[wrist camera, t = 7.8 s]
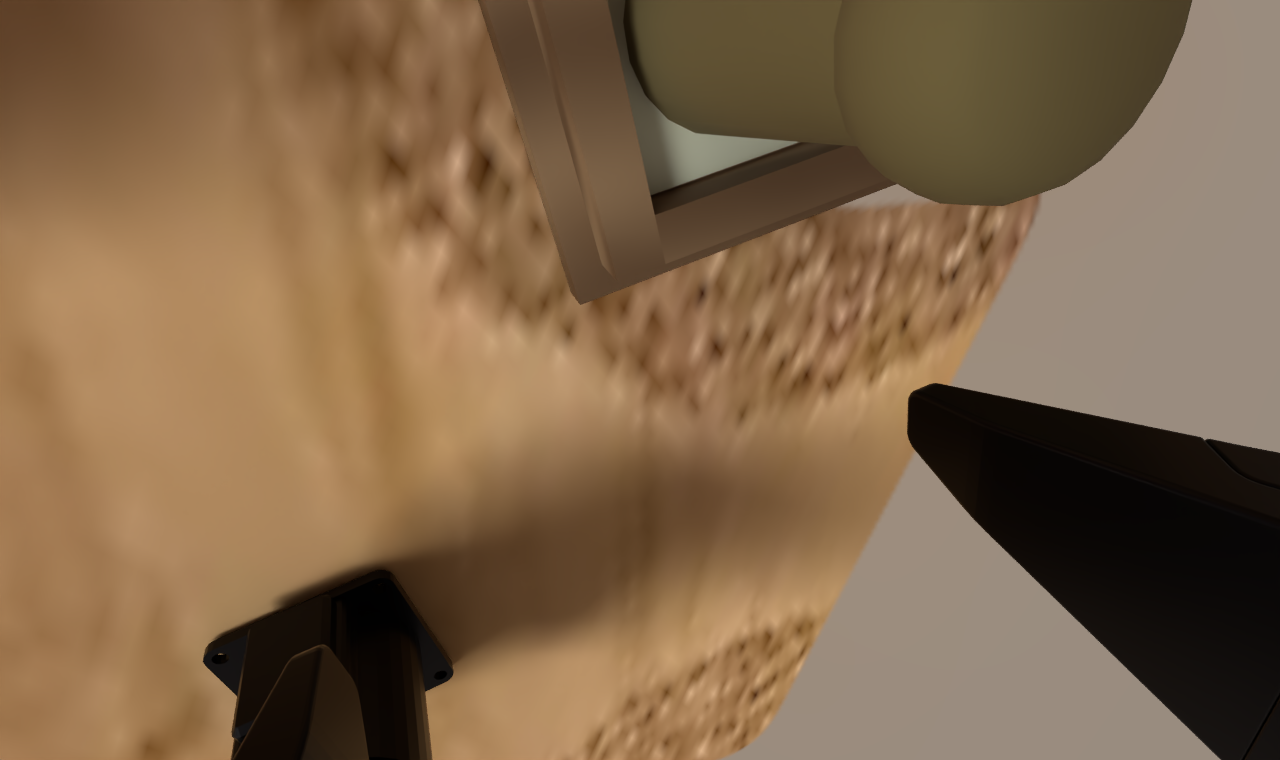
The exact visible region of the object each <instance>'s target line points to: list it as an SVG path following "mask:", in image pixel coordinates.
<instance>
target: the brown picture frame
mask: <svg viewBox="0 0 1280 760" xmlns="http://www.w3.org/2000/svg"><path fill="white" fill-rule="evenodd" d="M478 1H479V4H480V7H481V10H482V13H483V16H484V19H485V23H486V26H487V29H488V32H489V35H490V38H491V41H492V45H493V48H494V51H495V54H496V57H497V60H498V63H499V67H500V70H501V73H502V76H503V79H504V82H505V85H506V89H507V92H508V95H509V98H510V101H511V104H512V107H513V111H514V114H515V117H516V120H517V123H518V126H519V129H520V133H521V136H522V139H523V142H524V145H525V148H526V151H527V155H528V158H529V161H530V164H531V167H532V170H533V174H534V177H535V180H536V183H537V186H538V189H539V192H540V196H541V199H542V202H543V205H544V208H545V211H546V214H547V218H548V221H549V224H550V227H551V230H552V233H553V236H554V240H555V243H556V246H557V249H558V252H559V255H560V258H561V262H562V265H563V268H564V271H565V274H566V277H567V280H568V284H569V287H570V290H571V293H572V294H573V296H574V297H575V299H576V300H577V301H578V303H579V304H580V305H581V304H584V303H587V302H589V301H592V300H594V299H597V298H600V297H602V296H605V295H608V294H610V293H613V292H615V291H618V290H621V289H623V288H626V287H628V286H631V285H634V284H636V283H639V282H642V281H644V280H647V279H649V278H652V277H655V276H657V275H660V274H662V273H665V272H668V271H670V270H673V269H675V268H678V267H681V266H683V265H686V264H689V263H691V262H694V261H696V260H699V259H702V258H704V257H707V256H709V255H712V254H715V253H717V252H720V251H723V250H725V249H728V248H730V247H733V246H736V245H738V244H741V243H743V242H746V241H749V240H751V239H754V238H757V237H759V236H762V235H764V234H767V233H770V232H772V231H775V230H777V229H780V228H783V227H785V226H788V225H790V224H793V223H796V222H798V221H801V220H804V219H806V218H809V217H811V216H814V215H817V214H819V213H822V212H824V211H827V210H830V209H832V208H835V207H838V206H840V205H843V204H845V203H848V202H851V201H853V200H856V199H858V198H861V197H864V196H866V195H869V194H871V193H874V192H877V191H879V190H882V189H884V188H887V187H890V186H892V185H895V184H897V183H895V182H893V181H891V180H890V179H888V178H886V177H885V176H883V175H882V174H881V173H880V172H879V171H878V170H877V169H876V168H875V167H873V166H872V165H871V164H870V163H869V162H868V161H867V159H866V158H865V157H864V155H863V154H862V153H861V151H860V150H859V148H858V147H857V146H845V145H832V144H820V143H807V142H795V141H783V140H770V139H758V138H745V137H733V136H721V135H710V134H698V133H694V132H692V131H690V130H688V129H686V128H684V127H682V126H680V125H678V124H676V123H674V122H672V121H670V120H668V119H667V118H666V117H665V116H664V115H663V114H662V113H661V112H660V111H659V109H658V108H657V107H656V106H655V105H654V104H653V103H652V102H651V101H650V100H649V99H648V98H647V97H646V96H645V94H644V92H643V89H642V87H641V85H640V83H639V81H638V79H637V77H636V75H635V72H634V70H633V68H632V66H631V64H630V62H629V55H628V49H627V43H626V37H625V31H624V24H623V18H624V8H625V0H478Z"/></svg>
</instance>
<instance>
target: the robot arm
mask: <svg viewBox="0 0 1280 760" xmlns="http://www.w3.org/2000/svg"><path fill="white" fill-rule="evenodd" d="M907 434H908V438H909V441H910V443H911V445H912V447H913V448H914V449H915V451H916V452H917V453H918V454H919V455H920V457H921V458H922V459H923V460H924V461H925V463H926V464H927V465H928V466H929V467H930V468H931V470H932V471H933V472H934V473H935V474H936V476H937V477H938V478H939V479H940V480H941V482H942V483H943V484H944V485H945V486H946V487H947V489H948V490H949V491H950V492H951V493H952V495H953V496H954V497H955V498H956V499H957V501H958V502H959V503H960V504H961V505H962V507H963V508H964V509H965V510H966V511H967V512H968V513H969V514H970V516H971V517H972V518H973V519H974V520H975V521H976V522H977V523H978V524H979V525H980V526H981V527H982V528H983V529H984V530H985V531H986V532H987V533H988V534H989V535H990V536H991V537H992V538H993V539H994V540H995V541H996V542H997V543H998V544H999V545H1000V546H1001V547H1002V548H1003V549H1004V550H1005V551H1006V552H1008V553H1009V555H1011V556H1012V557H1013V558H1014V559H1015V560H1016V561H1017V562H1018V563H1019V564H1020V565H1021V566H1022V567H1023V568H1024V569H1025V570H1026V571H1027V572H1028V573H1029V574H1030V575H1031V576H1032V577H1033V578H1034V579H1035V580H1036V581H1037V582H1038V583H1039V584H1040V585H1041V586H1043V588H1045V589H1046V590H1047V591H1048V592H1049V593H1050V594H1051V595H1052V596H1053V597H1054V598H1055V599H1056V600H1057V601H1058V602H1059V603H1060V604H1061V605H1062V606H1063V607H1064V608H1065V609H1066V610H1067V611H1068V612H1069V613H1070V614H1071V615H1072V616H1073V617H1074V618H1075V619H1076V620H1078V622H1080V623H1081V624H1082V625H1083V626H1084V627H1085V628H1086V629H1087V630H1088V631H1089V632H1090V633H1091V634H1092V635H1093V636H1094V637H1095V638H1096V639H1097V640H1098V641H1099V642H1100V643H1101V644H1102V645H1103V646H1104V647H1106V649H1107V650H1108V651H1109V652H1110V653H1111V654H1112V655H1113V656H1115V657H1116V658H1117V659H1118V660H1119V661H1120V662H1121V663H1122V664H1123V665H1124V666H1125V667H1126V668H1127V669H1128V670H1129V671H1130V672H1131V673H1132V674H1133V675H1134V676H1135V677H1136V678H1137V679H1138V680H1139V681H1140V682H1141V683H1142V684H1143V685H1144V686H1145V687H1147V689H1148V690H1150V691H1151V692H1152V693H1153V694H1154V695H1155V696H1156V697H1157V698H1158V699H1159V700H1160V701H1161V702H1162V703H1163V704H1164V705H1165V706H1166V707H1167V708H1168V709H1169V710H1170V711H1171V712H1172V713H1173V714H1174V715H1175V716H1177V718H1178V719H1180V721H1181V722H1182V723H1184V724H1185V725H1186V726H1187V727H1188V728H1189V729H1190V730H1191V731H1192V732H1193V733H1194V734H1195V735H1196V736H1197V737H1198V738H1199V739H1200V740H1201V741H1202V742H1203V743H1204V744H1205V745H1206V746H1207V747H1208V748H1209V749H1210V750H1211V751H1212V752H1213V753H1214V754H1215V755H1217V757H1219V758H1220V759H1221V760H1280V453H1278V452H1273V451H1267V450H1262V449H1257V448H1252V447H1246V446H1241V445H1236V444H1232V443H1227V442H1222V441H1217V440H1213V439H1206V440H1204V439H1203V438H1201V437H1197V436H1192V435H1187V434H1182V433H1178V432H1172V431H1168V430H1163V429H1158V428H1153V427H1148V426H1144V425H1138V424H1134V423H1129V422H1124V421H1119V420H1114V419H1109V418H1104V417H1100V416H1095V415H1090V414H1085V413H1080V412H1075V411H1070V410H1065V409H1060V408H1055V407H1051V406H1045V405H1041V404H1036V403H1031V402H1026V401H1021V400H1016V399H1012V398H1007V397H1002V396H997V395H992V394H987V393H982V392H977V391H972V390H968V389H963V388H958V387H953V386H948V385H943V384H938V383H933V384H929V385H927V386H924V387H922V388H920V389H917V390H915V391H913V392H912V393H911V394H910V396H909V398H908V422H907ZM379 583H383V584H384V585H382V586H375V585H376V584H379ZM220 653H223V655H218V654H220ZM203 662H204V664H205V666H206V667H207V668H208V669H209V670H210V671H212V672H213V673H214V674H215V675H216V676H217V677H218V678H219V679H220V680H221V681H222V682H223V683H224V684H225V685H226V686H227V687H228V688H229V689H230V690H231V691H232V692H233V693H234V694H235V695H236V696H237V702H236V708H235V714H234V720H233V726H232V737H233V738H234V743H233V750H232V756H231V760H432V751H431V742H430V733H429V723H428V714H427V704H426V695H425V691H428V690H430V689H432V688H434V687H436V686H438V685H440V684H442V683H444V682H446V681H448V680H449V679H450V678H451V677H452V676H453V666H452V662H451V660H450V659H449V657H448V656H447V654H446V653H445V651H444V650H443V648H442V647H441V645H440V644H439V642H438V641H437V639H436V638H435V636H434V635H433V633H432V632H431V630H430V629H429V627H428V626H427V624H426V623H425V621H424V620H423V618H422V617H421V615H420V614H419V612H418V611H417V609H416V608H415V606H414V605H413V603H412V602H411V600H410V599H409V597H408V596H407V594H406V593H405V591H404V590H403V588H402V587H401V585H400V584H399V582H398V581H397V579H396V578H395V576H394V575H393V574H392V573H391V572H389V571H386V570H378V571H374V572H372V573H369V574H367V575H365V576H362V577H360V578H358V579H355V580H353V581H351V582H349V583H346V584H344V585H342V586H339V587H337V588H335V589H332V590H330V591H328V592H325V593H323V594H321V595H319V596H316V597H314V598H312V599H309V600H307V601H305V602H302V603H300V604H298V605H295V606H293V607H291V608H289V609H286V610H284V611H282V612H279V613H277V614H275V615H272V616H270V617H268V618H265V619H263V620H261V621H259V622H256V623H254V624H252V625H249V626H247V627H245V628H242V629H240V630H238V631H236V632H233V633H231V634H229V635H226V636H224V637H222V638H219V639H217V640H215V641H213V642H211V643H210V644H208V646H207V647H206V649H205V653H204V658H203ZM438 671H439V672H438Z"/></svg>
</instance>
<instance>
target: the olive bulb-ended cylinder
mask: <svg viewBox="0 0 1280 760" xmlns="http://www.w3.org/2000/svg"><path fill="white" fill-rule="evenodd" d="M1191 3H1192V0H625V8H624V18H623V24H624V31H625V37H626V43H627V49H628V55H629V62H630V64H631V66H632V68H633V70H634V72H635V75H636V77H637V79H638V81H639V83H640V85H641V87H642V89H643V92H644V94H645V96H646V97H647V98H648V99H649V100H650V101H651V102H652V103H653V104H654V105H655V106H656V107H657V108H658V109H659V111H660V112H661V113H662V114H663V115H664V116H665V117H666V118H667V119H668V120H670V121H672V122H674V123H676V124H678V125H680V126H682V127H684V128H686V129H688V130H690V131H692V132H694V133H698V134H710V135H721V136H733V137H745V138H758V139H770V140H783V141H795V142H807V143H820V144H832V145H845V146H857V147H858V148H859V150H860V151H861V153H862V154H863V155H864V157H865V158H866V159H867V161H868V162H869V163H870V164H871V165H872V166H873V167H875V168H876V169H877V170H878V171H879V172H880V173H881V174H882V175H883V176H885V177H886V178H888V179H890V180H891V181H893V182H895V183H897V184H899V185H900V186H902V187H904V188H906V189H908V190H909V191H911V192H913V193H915V194H917V195H920V196H922V197H925V198H927V199H930V200H932V201H935V202H938V203H943V204H961V205H986V206H1004V205H1007V204H1010V203H1013V202H1016V201H1019V200H1022V199H1025V198H1028V197H1031V196H1034V195H1037V194H1040V193H1043V192H1045V191H1048V190H1051V189H1054V188H1057V187H1060V186H1062V185H1065V184H1067V183H1068V182H1070V181H1071V180H1073V179H1074V178H1076V177H1077V176H1079V175H1080V174H1082V173H1083V172H1084V171H1086V170H1087V169H1089V168H1090V167H1091V166H1093V165H1095V164H1096V163H1097V162H1099V161H1100V160H1101V159H1102V158H1103V157H1104V156H1105V155H1106V154H1107V153H1108V152H1109V151H1110V150H1111V149H1112V148H1113V147H1114V145H1116V144H1117V142H1118V141H1119V140H1120V139H1121V138H1122V137H1123V136H1124V135H1125V134H1126V133H1127V132H1128V131H1129V130H1130V129H1131V128H1132V127H1133V125H1134V124H1135V122H1136V121H1137V119H1138V118H1139V116H1140V115H1141V113H1142V112H1143V110H1144V108H1145V107H1146V106H1147V104H1148V103H1149V101H1150V100H1151V98H1152V97H1153V95H1154V94H1155V92H1156V90H1157V89H1158V87H1159V86H1160V84H1161V83H1162V81H1163V79H1164V76H1165V74H1166V72H1167V69H1168V67H1169V65H1170V63H1171V61H1172V58H1173V56H1174V54H1175V51H1176V49H1177V47H1178V45H1179V43H1180V40H1181V38H1182V36H1183V34H1184V30H1185V26H1186V22H1187V19H1188V14H1189V11H1190V7H1191Z"/></svg>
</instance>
